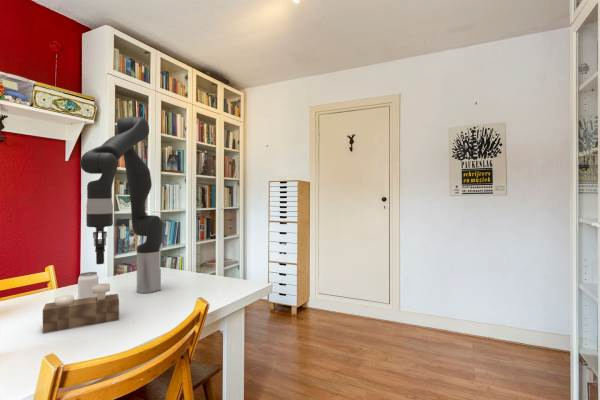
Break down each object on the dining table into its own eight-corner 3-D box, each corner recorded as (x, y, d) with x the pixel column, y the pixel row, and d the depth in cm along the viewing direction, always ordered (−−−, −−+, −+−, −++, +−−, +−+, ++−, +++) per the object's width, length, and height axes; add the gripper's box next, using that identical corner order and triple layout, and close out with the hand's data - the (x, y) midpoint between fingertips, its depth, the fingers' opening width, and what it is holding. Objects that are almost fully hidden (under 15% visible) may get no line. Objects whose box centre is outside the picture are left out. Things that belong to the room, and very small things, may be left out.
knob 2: (109, 304, 110) (109, 282, 110) (110, 308, 106) (110, 285, 106) (92, 306, 108) (92, 284, 108) (92, 311, 104) (92, 288, 104)
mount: (117, 313, 113) (117, 293, 113) (118, 319, 107) (118, 299, 107) (45, 325, 102) (45, 303, 102) (42, 333, 96) (42, 310, 96)
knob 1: (74, 317, 105) (74, 294, 105) (73, 321, 101) (73, 298, 101) (55, 320, 102) (55, 296, 102) (53, 325, 98) (53, 300, 98)
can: (76, 308, 117) (76, 276, 117) (79, 303, 123) (79, 272, 123) (97, 306, 120) (97, 274, 120) (99, 301, 126) (99, 271, 126)
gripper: (113, 212, 103) (113, 266, 103) (112, 211, 114) (112, 259, 115) (85, 213, 99) (85, 269, 99) (87, 211, 111) (87, 261, 111)
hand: (100, 263), depth 107 cm, fingers closed
